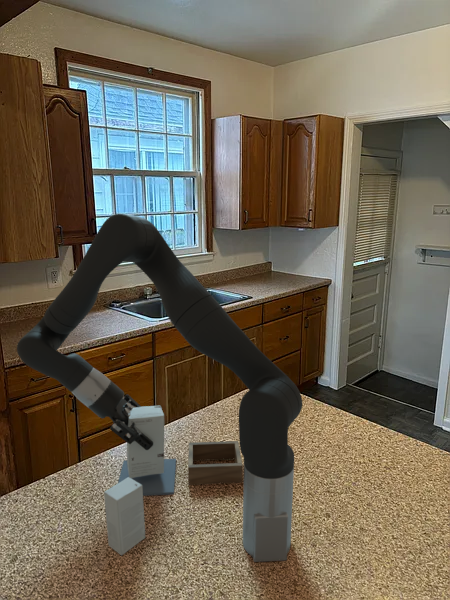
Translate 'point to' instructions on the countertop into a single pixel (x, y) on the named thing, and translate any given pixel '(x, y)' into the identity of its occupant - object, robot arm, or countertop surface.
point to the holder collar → (214, 471)
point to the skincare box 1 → (124, 515)
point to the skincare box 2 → (153, 428)
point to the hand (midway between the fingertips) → (152, 438)
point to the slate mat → (155, 479)
